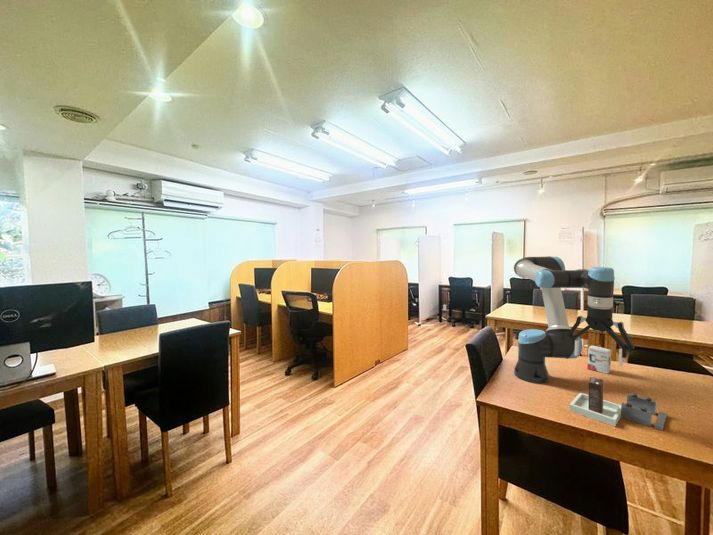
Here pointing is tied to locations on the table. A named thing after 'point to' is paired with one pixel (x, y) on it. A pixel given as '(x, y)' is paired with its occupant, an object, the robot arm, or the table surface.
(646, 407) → the hitch bracket
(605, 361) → the ink box
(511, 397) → the table surface
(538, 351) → the robot arm
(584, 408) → the tray
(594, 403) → the box
